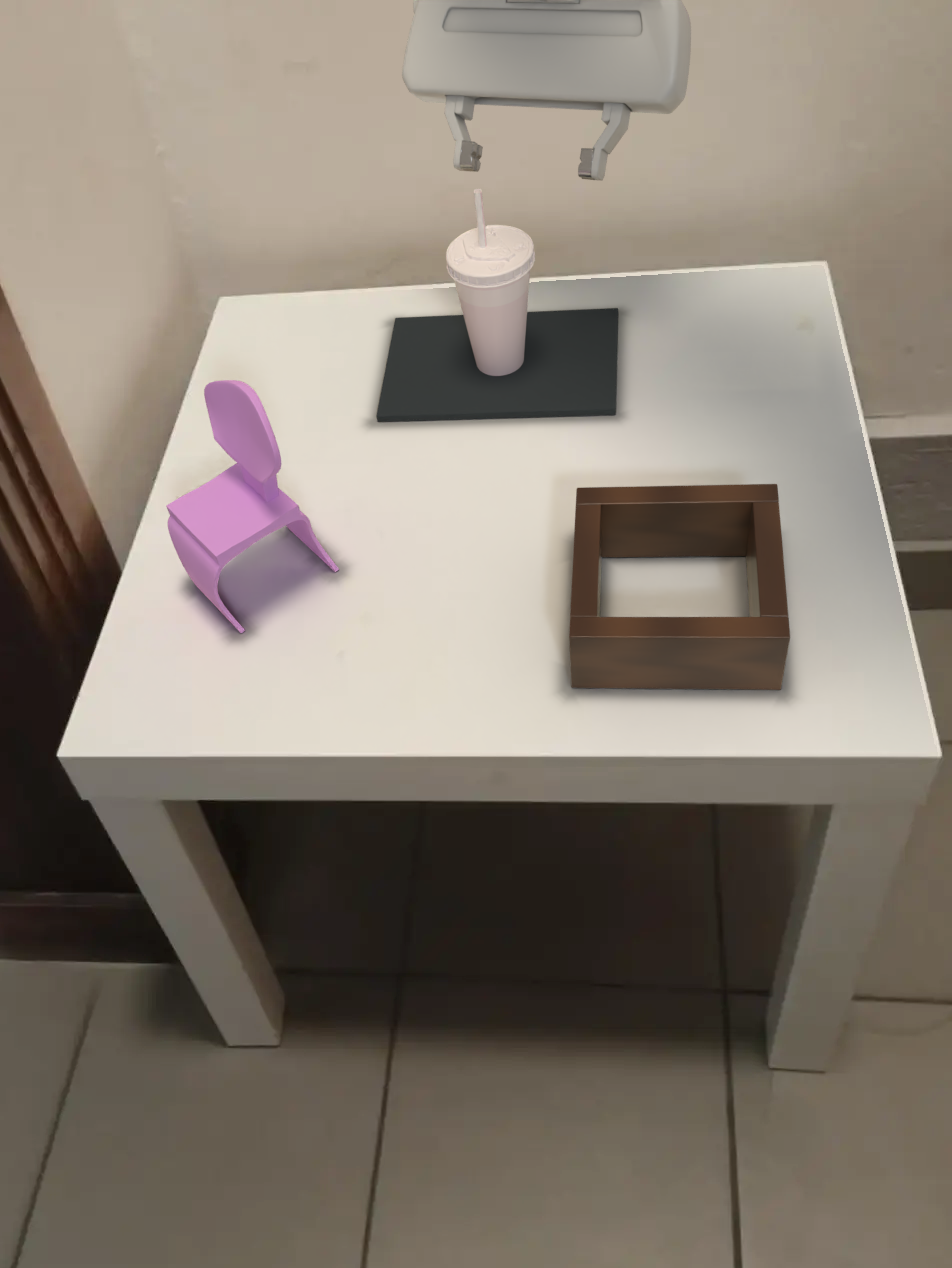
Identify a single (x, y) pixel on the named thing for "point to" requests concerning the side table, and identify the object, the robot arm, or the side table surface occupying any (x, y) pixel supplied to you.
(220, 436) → the toy chair
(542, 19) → the robot arm
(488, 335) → the smoothie
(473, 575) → the side table surface
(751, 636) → the crate
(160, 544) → the side table surface
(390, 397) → the mat
